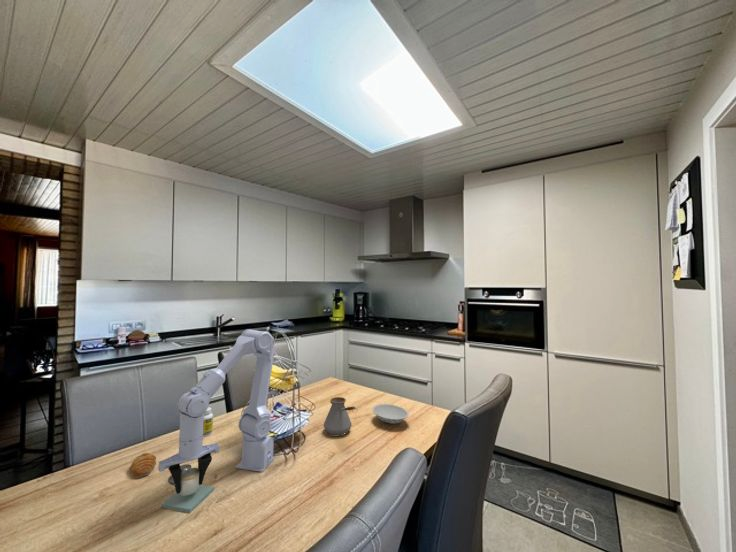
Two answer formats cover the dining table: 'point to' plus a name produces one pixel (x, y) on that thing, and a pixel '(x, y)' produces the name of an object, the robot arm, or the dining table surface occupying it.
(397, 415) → the dish
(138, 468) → the pastry
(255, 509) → the dining table surface
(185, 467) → the grey round lid
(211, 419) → the supplement bottle
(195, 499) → the coaster
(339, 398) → the coffee pot
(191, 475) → the can
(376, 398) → the dining table surface
